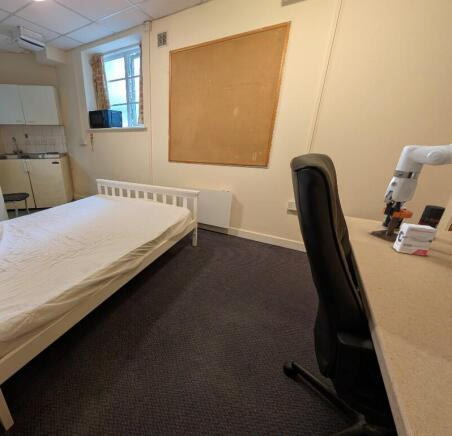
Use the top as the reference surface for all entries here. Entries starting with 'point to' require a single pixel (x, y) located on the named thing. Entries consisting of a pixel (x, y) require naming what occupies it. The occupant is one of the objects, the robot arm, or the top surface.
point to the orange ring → (401, 213)
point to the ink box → (414, 239)
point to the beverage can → (388, 219)
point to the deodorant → (431, 216)
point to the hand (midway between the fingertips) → (390, 214)
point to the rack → (388, 231)
